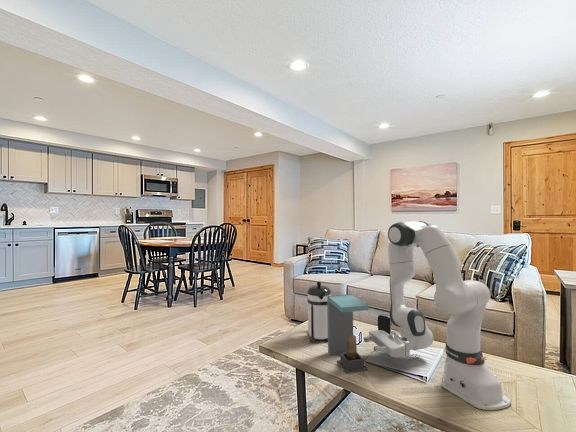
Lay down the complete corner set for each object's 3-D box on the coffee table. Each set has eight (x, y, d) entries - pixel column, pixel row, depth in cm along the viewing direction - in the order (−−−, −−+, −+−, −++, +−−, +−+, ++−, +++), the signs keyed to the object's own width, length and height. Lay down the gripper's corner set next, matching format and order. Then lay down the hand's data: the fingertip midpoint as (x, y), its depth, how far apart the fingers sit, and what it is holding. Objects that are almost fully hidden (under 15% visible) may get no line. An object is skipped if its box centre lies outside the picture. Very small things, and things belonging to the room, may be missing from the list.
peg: (358, 366, 126) (357, 337, 126) (349, 367, 125) (349, 338, 125) (354, 361, 130) (353, 334, 130) (346, 362, 129) (345, 335, 129)
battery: (392, 336, 157) (392, 315, 157) (390, 338, 154) (390, 317, 154) (379, 333, 162) (379, 312, 162) (377, 335, 159) (377, 314, 158)
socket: (368, 370, 124) (368, 360, 124) (345, 373, 122) (345, 363, 121) (357, 359, 133) (357, 350, 133) (336, 361, 131) (336, 352, 131)
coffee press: (340, 337, 157) (340, 281, 157) (321, 346, 146) (320, 286, 146) (316, 328, 170) (315, 276, 169) (296, 336, 159) (295, 281, 158)
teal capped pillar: (369, 369, 125) (368, 305, 125) (342, 372, 122) (341, 307, 122) (351, 349, 142) (351, 294, 142) (328, 352, 140) (327, 295, 140)
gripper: (385, 325, 142) (358, 328, 139) (411, 343, 122) (381, 347, 119) (385, 338, 142) (358, 341, 139) (411, 358, 122) (381, 362, 119)
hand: (369, 344), depth 129 cm, fingers open, 8 cm apart
